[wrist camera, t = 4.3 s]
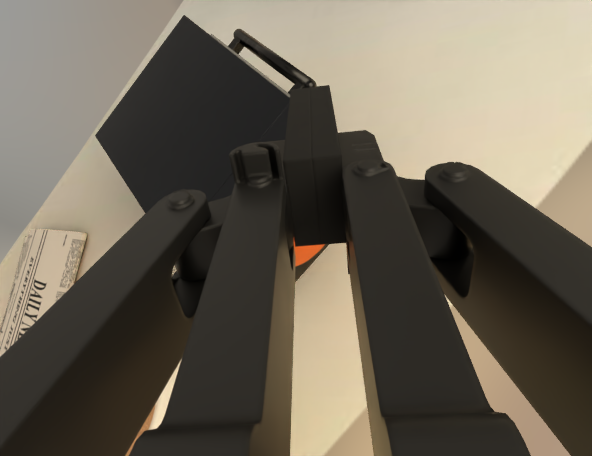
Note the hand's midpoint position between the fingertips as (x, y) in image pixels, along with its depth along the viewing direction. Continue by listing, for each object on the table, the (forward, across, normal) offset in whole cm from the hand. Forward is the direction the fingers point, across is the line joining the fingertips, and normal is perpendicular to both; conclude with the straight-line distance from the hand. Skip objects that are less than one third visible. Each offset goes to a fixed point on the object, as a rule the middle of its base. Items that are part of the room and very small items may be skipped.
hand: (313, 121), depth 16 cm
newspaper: (+18, -36, -28) cm, 49 cm away
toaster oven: (+17, -4, -11) cm, 21 cm away
